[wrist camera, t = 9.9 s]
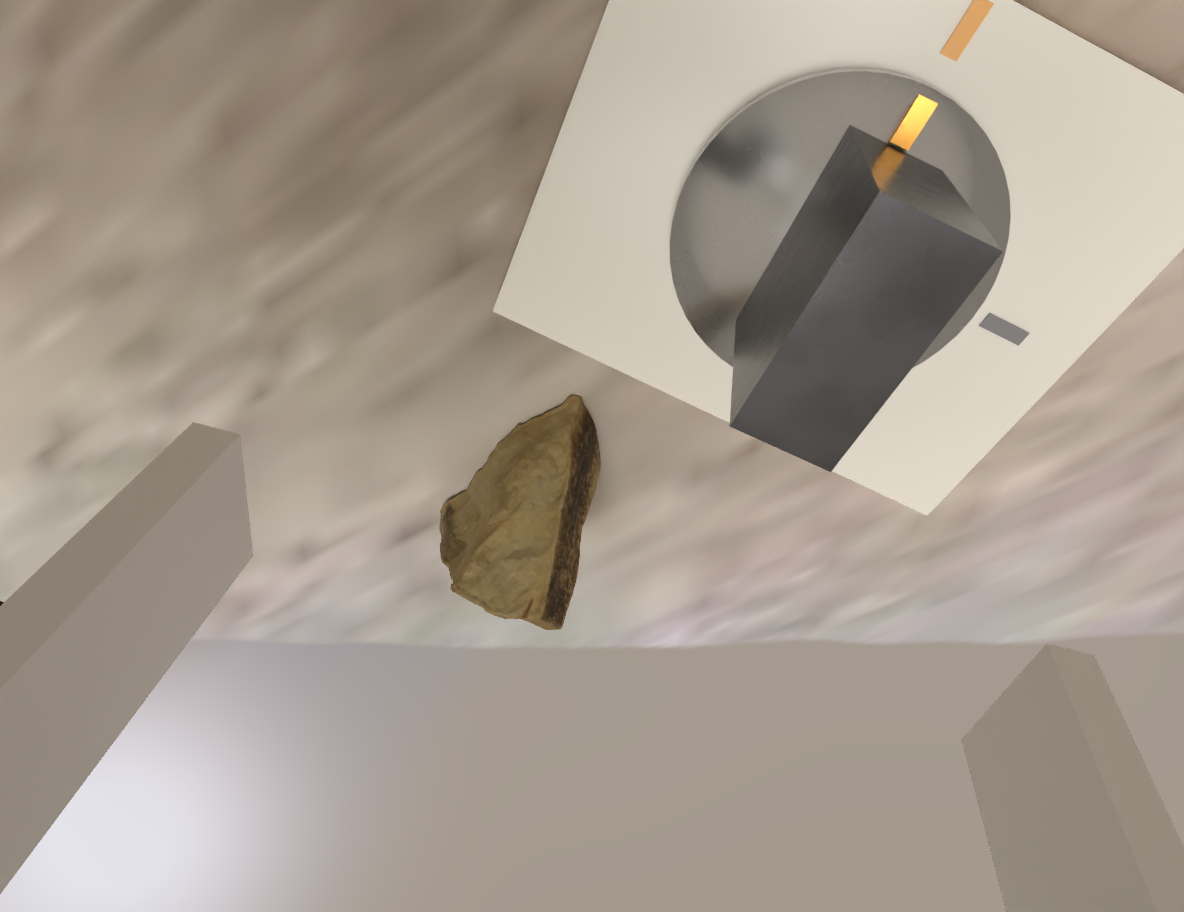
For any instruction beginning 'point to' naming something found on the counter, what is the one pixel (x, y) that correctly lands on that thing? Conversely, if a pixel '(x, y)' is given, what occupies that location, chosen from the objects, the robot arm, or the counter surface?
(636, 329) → the dial panel
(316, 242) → the counter surface
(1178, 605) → the counter surface
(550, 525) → the rock
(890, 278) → the dial
